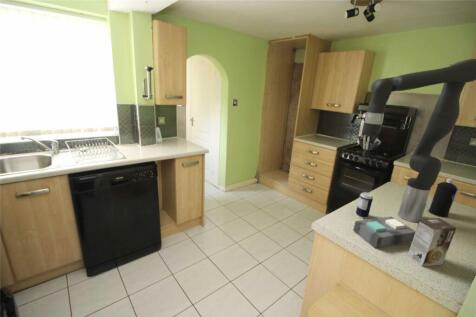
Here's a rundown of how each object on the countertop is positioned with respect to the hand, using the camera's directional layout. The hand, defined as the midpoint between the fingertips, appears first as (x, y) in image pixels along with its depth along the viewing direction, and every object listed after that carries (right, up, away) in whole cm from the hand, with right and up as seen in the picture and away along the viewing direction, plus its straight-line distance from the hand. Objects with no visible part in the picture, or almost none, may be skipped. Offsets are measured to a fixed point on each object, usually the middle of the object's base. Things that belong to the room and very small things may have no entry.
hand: (365, 156), depth 114 cm
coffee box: (+7, -40, -28) cm, 49 cm away
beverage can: (-1, -30, +1) cm, 30 cm away
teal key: (-6, -34, -17) cm, 38 cm away
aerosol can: (+43, -31, +8) cm, 54 cm away
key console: (-1, -35, -15) cm, 38 cm away
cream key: (+4, -33, -14) cm, 36 cm away
